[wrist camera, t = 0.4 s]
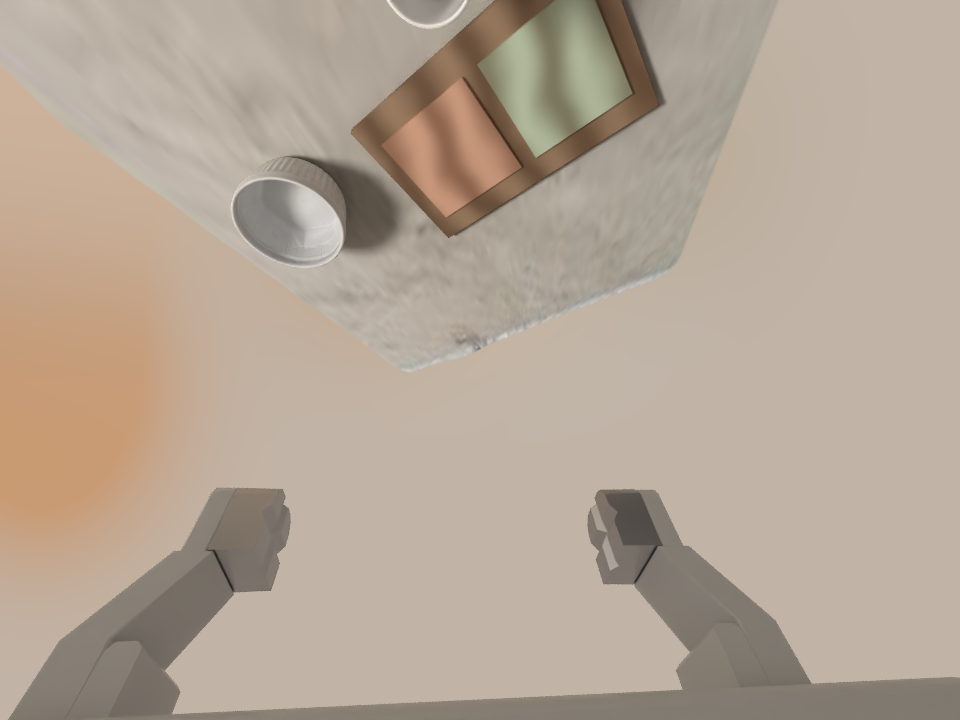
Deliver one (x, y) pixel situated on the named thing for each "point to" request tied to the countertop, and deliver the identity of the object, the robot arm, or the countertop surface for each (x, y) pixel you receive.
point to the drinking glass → (429, 11)
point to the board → (508, 105)
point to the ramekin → (291, 213)
